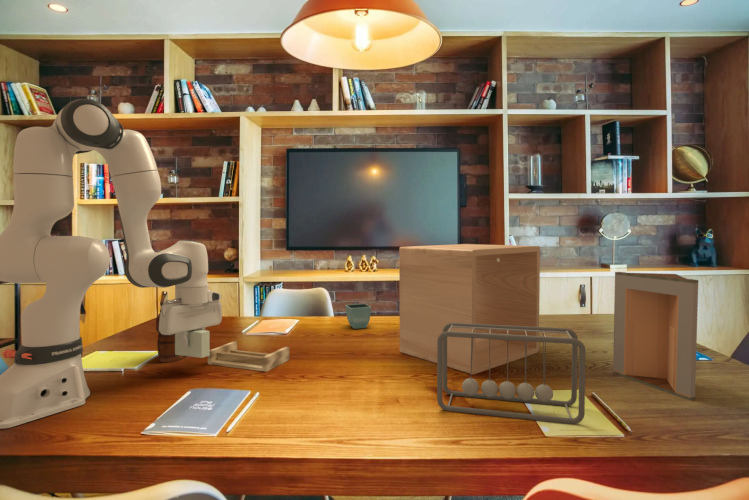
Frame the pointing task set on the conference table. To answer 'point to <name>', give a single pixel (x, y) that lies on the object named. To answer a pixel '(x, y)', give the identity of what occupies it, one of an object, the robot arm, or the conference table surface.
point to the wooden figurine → (166, 345)
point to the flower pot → (358, 315)
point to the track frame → (247, 358)
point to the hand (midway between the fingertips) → (192, 345)
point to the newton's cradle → (507, 388)
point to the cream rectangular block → (194, 344)
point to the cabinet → (656, 331)
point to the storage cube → (468, 301)
